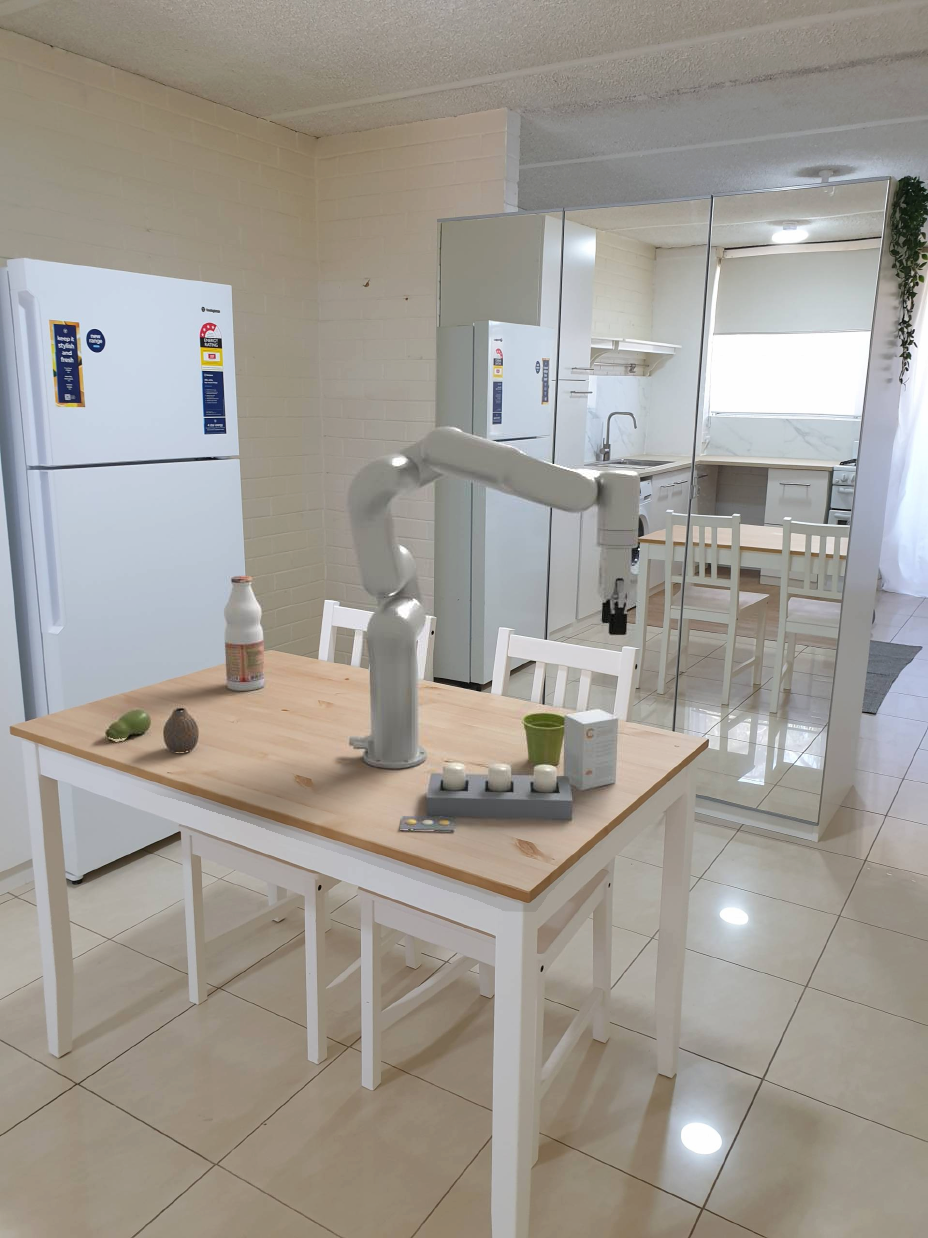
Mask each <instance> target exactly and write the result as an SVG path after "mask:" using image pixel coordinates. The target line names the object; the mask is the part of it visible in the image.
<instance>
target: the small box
mask: <svg viewBox="0 0 928 1238" xmlns="http://www.w3.org/2000/svg"><path fill="white" fill-rule="evenodd" d="M564 717H565V721H564V738H563V765H562V767H563V768H562V769H563V773H562V776H568V778H569V783H570V785H571V786H573V787H575V788H576V789H578V790H580V791H584V790H587V789H593V788H597V787H601V786H606V785H611V784H615V783H616V779H617V759H618V758H617V756H618V755H617V753H618V732H619V717H617V716H616V715H613V714H611V713H609V712H606V711H604V710H602V709H599V708H596V709H591V710H585V711H579V712H575V713H574V712H573V713H569V714H567V713H566V714H564Z"/></svg>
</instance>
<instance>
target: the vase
mask: <svg viewBox="0 0 928 1238" xmlns="http://www.w3.org/2000/svg"><path fill="white" fill-rule="evenodd" d="M162 733H163V735H162V736H163V742H164V744H165V746H166V748H167V749H168V750H169V751H170V750H171V752H172V751H173V752H186V751H190V750H191V751H193V750H194V748H195V747H196V746H197V744H198V742H199V735H200V733H199V726H198V725H197V722H196V720H195V718H193V716H191V715H190V714H189V712H188V710H187V709H186V708H185V707H176V708H174V709H173V711H172V713H171V715H170V716H169V717H168V719H167V720H166V722H165V724H164V728H163V732H162ZM191 751H190V752H191ZM173 752H172V753H173Z"/></svg>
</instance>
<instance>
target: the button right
mask: <svg viewBox="0 0 928 1238" xmlns="http://www.w3.org/2000/svg"><path fill="white" fill-rule="evenodd" d="M557 772H558V770H557V768H556V766H555V765H552V766H551V765H535V766H534V767H533V775H534V784H533V788H534V790H536V791H539V792H553V791H555V790H556V776H558V775H557V774H558V773H557Z"/></svg>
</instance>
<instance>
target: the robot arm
mask: <svg viewBox="0 0 928 1238" xmlns="http://www.w3.org/2000/svg"><path fill="white" fill-rule="evenodd" d="M446 476H449V477H451V478H455V479H459V480H463V481H465V482H468V483H469V482H470V483H471V484H472V483H473V484H476V485H479V486H483V487H485V488H489V489H492V490H495V491H499V492H501V493H503V494H506V495H509V496H514V497H517V498H520V499H522V500H526V501H528V502H532V503H534V504H538V505H541V506H545V507H549V508H552V509H555V510H559V511H561V512H565V513H569V514H582V513H585V512H587V511H589V509H591V508H597V521H596V523H597V524H596V543H595V546H596V547H599V548H600V552H599V553H600V554H599V561H598V562H599V563H598V564H599V565H598V576H597V577H598V579H597V580H598V581H597V594H598V596H599V597H600V598H601V600H602V601H603V602H601V603H602V607H601V623H603V624H608V635H610V636H625V635H627V632H628V631H627V630H628V626H627V625H628V607H627V601H629V600H630V597H631V596H630V595H631V580H632V559H633V558H632V549H635V548H637V547H638V542H639V540H638V539H639V520H640V517H639V516H640V499H641V498H640V496H641V478H640V475H639V474H638V473H637V472H636V471H632V470H606V471H601V470H599V471H598V470H593V469H585V468H572V469H570V468H569V467H568V468H567V467H564V466H561V465H558V464H553V463H551V462H548V461H544V460H542V459H538V458H535V457H533V456H531V455H529V454H527V453H525V452H523V451H521V450H520V449H518V448H517V447H515V446H513V445H509V444H505V443H502V442H498V441H495V440H491V439H488V438H485V437H480V436H478V435H474V434H471V433H468V432H464V431H462V430H461V429H459V428H457V427H454V426H447V425H446V426H439V427H435V428H433V429H431V430H430V431H429V432H428V433H426V435H425V436H424V438H422V439H420V440H418V441H416V442H414V443H412V444H410V445H409V446H406V447H405V448H402V449H401V450H398V451H396V452H394V453H392V454H385V455H381V456H379V457H376V458H374V459H372V460H370V461H369V462H367V464H366V463H365V465H364V466H362V468H360V469H359V470H358V471H357V472H356V474H355V475H354V476H353V478H352V479H351V481H350V483H349V486H348V489H347V494H346V503H345V504H346V512H347V517H348V523H349V527H350V533H351V536H352V537H351V538H352V543H353V544H352V545H353V549H354V554H355V559H356V563H357V569H358V573H359V579H360V583H361V586H362V588H363V589H364V590H365V592H367V594H368V595H369V596H372V597H374V598H375V599H376V603H377V606H378V608H377V609H376V610H375V611H374V612H373V614H372V615H371V616H370V618H369V621H368V622H367V627H366V644H367V652H368V653H367V654H368V662H369V688H370V689H369V692H370V693H369V695H370V697H369V699H370V700H369V701H370V702H369V703H370V706H369V707H370V734H369V735H365V736H349V739H348V740H349V741H348V742H349V743H348V744H349V746H350V747H352V748H353V750H364V751H363V752H362V753H363V755H362V756H363V757H362V758H363V760H364V762H365V763H367V764H368V765H370V766H373V767H376V768H381V769H392V770H393V769H403V768H404V769H405V768H411V767H414V766H417V765H420V764H421V763H423V762H424V761H425V760H426V758H427V751H426V749H425V748H424V747H423V746H420V745H419V665H418V653H417V639H418V638H419V636H420V635H421V633H422V631H424V630H423V629H424V628H425V625H426V618H427V616H426V607H425V602H424V598H423V593H422V588H421V587H422V586H421V582H420V576H419V572H418V569H417V564H416V562H415V560H414V559H415V558H414V557H413V555H412V553H411V552H410V550H408V549H407V548H406V547H404V546H403V545H401V544H399V540H398V534H397V529H396V528H397V527H396V524H395V519H394V517H393V514H392V504H393V503H394V502H395V501H396V500H398V499H402V498H404V497H407V496H409V495H411V494H413V493H414V492H416V491H419V490H421V489H422V488H424V487H426V486H428V485H430V484H432V483H434V482H436V481H438V480H440V479H442V478H444V477H446Z"/></svg>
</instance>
